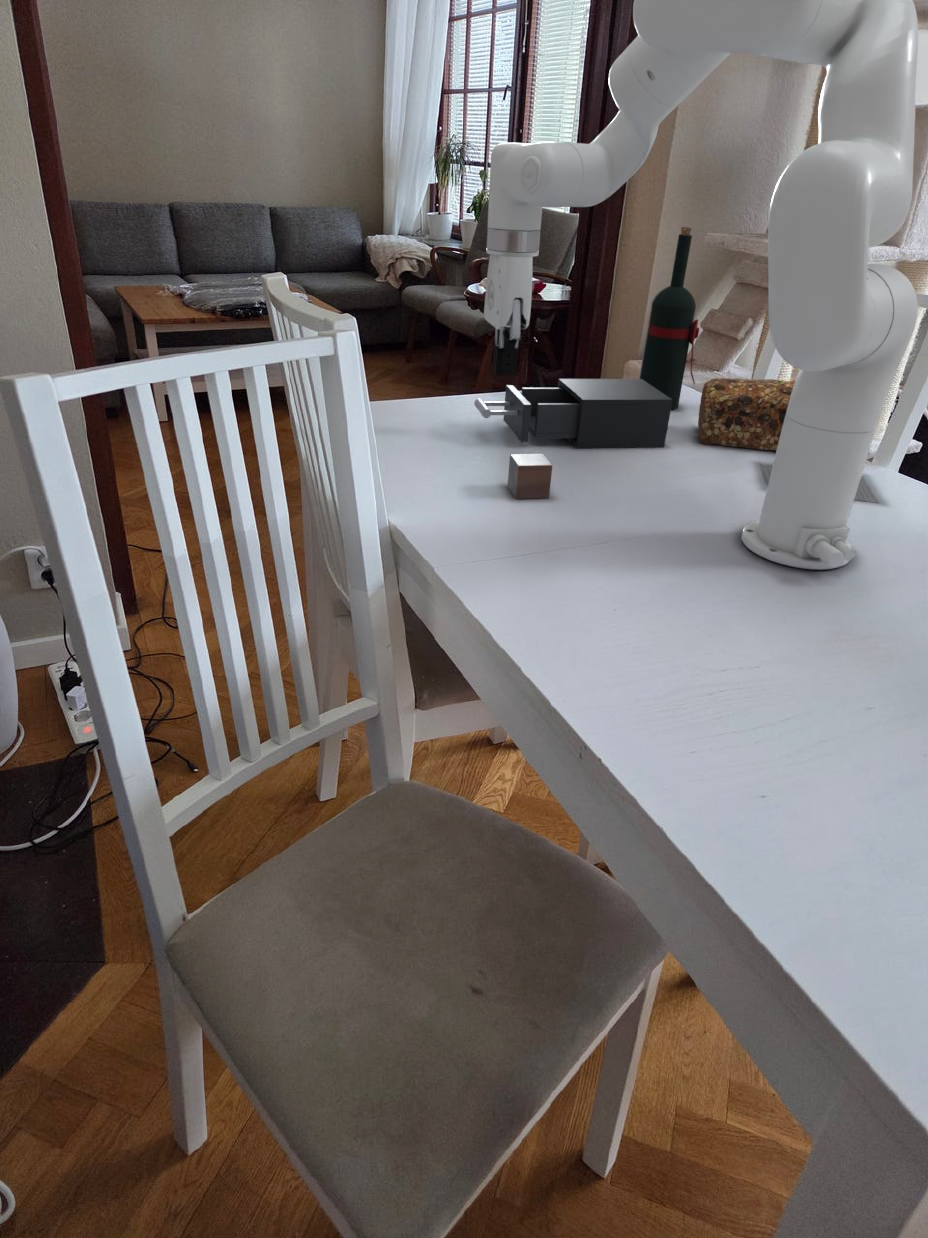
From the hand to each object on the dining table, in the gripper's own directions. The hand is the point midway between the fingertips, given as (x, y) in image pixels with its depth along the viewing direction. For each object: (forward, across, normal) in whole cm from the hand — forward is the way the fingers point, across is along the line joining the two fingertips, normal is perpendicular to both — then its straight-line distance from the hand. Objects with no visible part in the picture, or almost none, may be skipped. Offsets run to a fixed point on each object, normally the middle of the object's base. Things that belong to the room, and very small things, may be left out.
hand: (504, 373), depth 126 cm
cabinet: (+10, 0, +18) cm, 21 cm away
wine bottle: (+10, -17, +35) cm, 41 cm away
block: (+10, +24, -2) cm, 26 cm away
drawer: (+9, 0, +6) cm, 11 cm away
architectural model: (+11, +23, +42) cm, 49 cm away
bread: (+10, +4, +42) cm, 44 cm away
